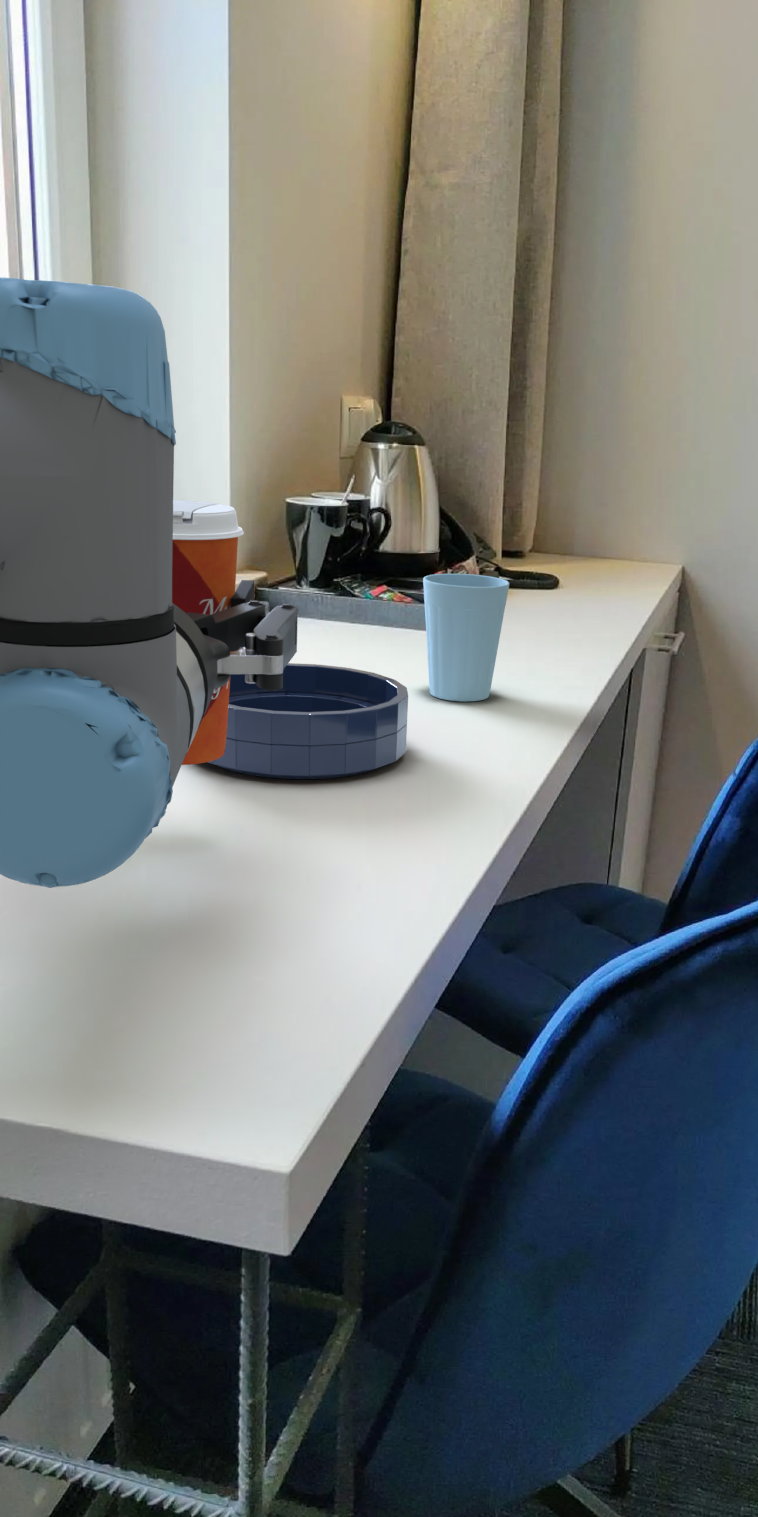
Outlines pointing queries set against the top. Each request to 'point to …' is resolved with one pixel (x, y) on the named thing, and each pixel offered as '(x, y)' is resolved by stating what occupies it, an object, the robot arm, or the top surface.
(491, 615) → the cup
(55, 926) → the top surface
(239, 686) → the bowl
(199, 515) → the paper cup
